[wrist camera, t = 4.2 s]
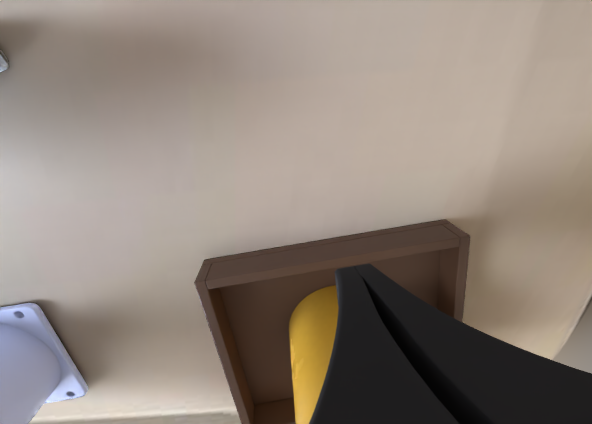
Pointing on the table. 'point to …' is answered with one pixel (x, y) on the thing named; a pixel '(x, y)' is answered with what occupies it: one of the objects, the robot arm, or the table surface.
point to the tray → (302, 282)
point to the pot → (311, 348)
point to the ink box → (3, 62)
